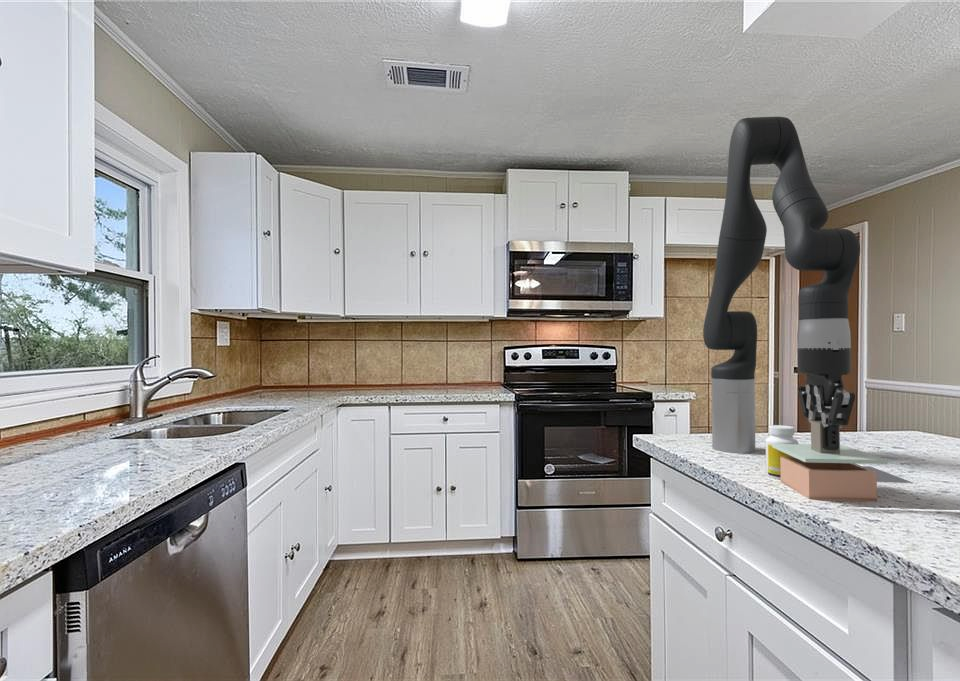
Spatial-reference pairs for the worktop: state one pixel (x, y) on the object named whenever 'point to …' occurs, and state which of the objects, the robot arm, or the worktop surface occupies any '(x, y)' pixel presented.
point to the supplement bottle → (773, 455)
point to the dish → (829, 480)
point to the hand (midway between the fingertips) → (825, 447)
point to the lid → (821, 455)
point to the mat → (887, 476)
